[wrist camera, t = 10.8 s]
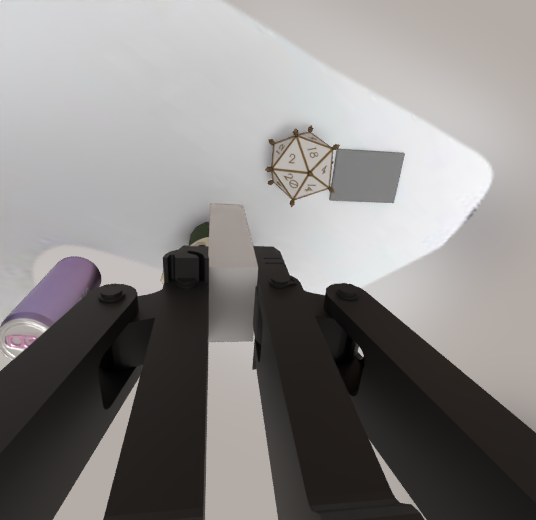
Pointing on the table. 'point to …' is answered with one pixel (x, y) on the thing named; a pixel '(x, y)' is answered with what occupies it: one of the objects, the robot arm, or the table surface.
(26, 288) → the table surface
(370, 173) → the grey rubber mat
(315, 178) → the game die
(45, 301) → the beverage can
